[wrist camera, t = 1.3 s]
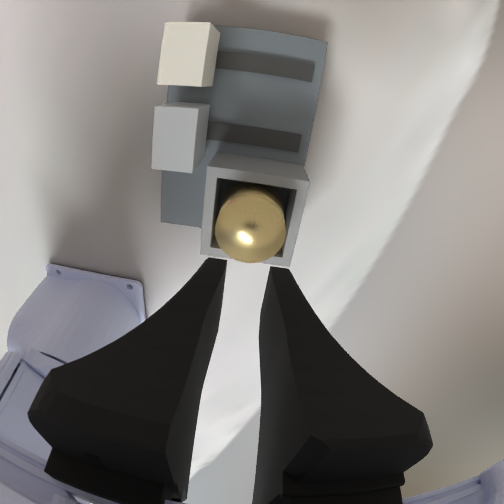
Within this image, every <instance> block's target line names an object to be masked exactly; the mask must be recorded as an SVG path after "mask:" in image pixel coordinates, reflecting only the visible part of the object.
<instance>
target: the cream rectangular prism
mask: <svg viewBox="0 0 504 504" xmlns="http://www.w3.org/2000/svg"><path fill="white" fill-rule="evenodd" d="M219 39H220V32H219V31H218V30H217V29H216V28H215V27H214V26H213V25H212V24H211V23H209V22H165V26H164V32H163V39H162V46H161V53H160V61H159V69H158V78H157V85H180V86H197V87H206V86H213V79H214V72H215V65H216V58H217V52H218V45H219Z"/></svg>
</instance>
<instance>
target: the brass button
mask: <svg viewBox="0 0 504 504" xmlns="http://www.w3.org/2000/svg"><path fill="white" fill-rule="evenodd" d="M285 236H286V227H285V219H284V212H283V204H282V199H281V196H280V194H279V193H278V191H277V190H276V189H275V188H274V187H273V186H272V185H265V184H259V183H252V182H245V181H239V182H237V183H236V184H234V185H233V186H232V187H231V188H230V189H229V190H228V191H227V193H226V195H225V197H224V200H223V203H222V206H221V209H220V212H219V215H218V218H217V221H216V225H215V237H216V240H217V242H218V245H219V246H220V248H221V249H222V250H223V251H224V252H225V253H226V254H227V255H228V256H230V257H231V258H233V259H235V260H238V261H241V262H246V263H256V262H261V261H264V260H267V259H269V258H271V257H272V256H274V255H275V254H276V253H277V252H278V251H279V250H280V249H281V247H282V245H283V243H284V240H285Z"/></svg>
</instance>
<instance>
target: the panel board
mask: <svg viewBox="0 0 504 504" xmlns="http://www.w3.org/2000/svg"><path fill="white" fill-rule="evenodd" d="M213 26H214V25H213ZM214 27H215V28H216V29H217V30H218V31H219V32H220V39H219V45H218V52H217V58H216V65H215V72H214V79H213V86H206V87H197V86H180V85H168V95H167V103H170V102H188V103H201V104H210V110H209V119H208V128H207V137H206V146H205V156H204V159H203V160H202V161H201V163H200V164H199V165H198V167H197V168H196V169H195V170H194V172H193V173H185V172H176V171H166V170H162V187H161V222H165V223H172V224H180V225H187V226H194V227H201V228H202V234H201V249H200V254H203V255H210V256H217V257H223V258H230V259H233V258H231V257H230V256H228V255H227V254H226V253H225V252H224V251H223V250H222V249H221V248H220V246H219V245H218V242H217V240H216V237H215V225H216V221H217V218H218V215H219V212H220V209H221V206H222V203H223V200H224V197H225V195H226V193H227V191H228V190H229V189H230V188H231V187H232V186H233V185H234V184H236V183H237V182H239V181H245V182H252V183H259V184H265V185H272V186H273V187H274V188H275V189H276V190H277V191H278V193H279V194H280V196H281V199H282V204H283V212H284V219H285V227H286V236H285V240H284V243H283V245H282V247H281V249H280V250H279V251H278V252H277V253H276V254H275V255H274V256H272V257H271V258H269V259H267V260H264V261H261V262H258V263H265V264H272V265H280V266H287V267H290V264H291V260H292V256H293V252H294V248H295V244H296V239H297V235H298V231H299V227H300V223H301V218H302V214H303V210H304V206H305V201H306V197H307V192H308V188H309V183H310V181H309V179H308V176H307V174H306V172H305V169H304V165H305V161H306V156H307V151H308V146H309V141H310V136H311V131H312V126H313V121H314V116H315V110H316V105H317V100H318V94H319V89H320V84H321V78H322V73H323V67H324V61H325V56H326V50H327V44H328V42H325V41H320V40H316V39H311V38H307V37H302V36H296V35H291V34H285V33H279V32H273V31H266V30H258V29H250V28H240V27H229V26H214Z"/></svg>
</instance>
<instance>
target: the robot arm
mask: <svg viewBox="0 0 504 504" xmlns="http://www.w3.org/2000/svg"><path fill="white" fill-rule="evenodd" d="M226 265H227V260H223V259H216V258H208V259H206V260H205V261H204V263H203V264H202V265H201V267H200V268H199V269H198V271H197V272H196V273H195V274H194V275H193V276H192V278H191V279H190V280H189V281H188V282H187V283H186V284H185V285H184V286H183V287H182V288H181V289H180V290H179V291H178V292H177V293H176V294H175V295H174V296H173V297H172V298H171V299H170V300H169V301H168V302H167V303H166V304H165V305H164V306H162V307H161V308H160V309H159V310H158V311H157V312H155V313H154V314H153V315H152V316H150V317H149V318H148V319H146V316H145V307H144V296H143V286H142V284H141V283H140V282H139V281H136V280H131V279H126V278H120V277H115V276H109V275H104V274H99V273H94V272H89V271H84V270H79V269H74V268H69V267H65V266H60V265H55V264H48V265H47V266H46V271H47V276H46V277H45V278H44V280H43V281H42V282H41V283H40V284H39V286H38V287H37V288H36V289H35V290H34V292H33V293H32V294H31V295H30V297H29V298H28V299H27V300H26V302H25V303H24V304H23V305H22V307H21V308H20V309H19V311H18V312H17V313H16V315H15V316H14V318H13V320H12V322H11V325H10V328H9V332H8V338H7V346H8V352H6V353H5V355H4V356H3V358H2V359H1V361H0V504H90V503H93V504H185V503H182V502H183V501H185V500H186V499H187V492H188V484H189V475H190V467H191V460H192V452H193V445H194V438H195V431H196V424H197V417H198V411H199V404H200V398H201V393H202V388H203V384H204V380H205V376H206V373H207V369H208V365H209V362H210V358H211V354H212V351H213V347H214V344H215V340H216V336H217V333H218V327H219V321H220V315H221V308H222V300H223V291H224V282H225V274H226ZM129 285H131V286H132V287H131V286H129ZM259 353H260V374H261V416H260V431H259V444H258V455H257V465H256V475H255V485H254V493H253V502H252V504H504V460H502V461H500V462H498V463H496V464H494V465H493V466H491V467H489V468H487V469H486V470H485V471H483V472H482V473H481V474H480V475H478V476H475V477H473V478H470V479H467V480H465V481H462V482H459V483H456V484H453V485H450V486H447V487H444V488H441V489H437V490H434V491H430V492H427V493H423V494H419V495H416V496H411V497H407V498H403V499H402V497H401V490H400V486H402V485H404V483H405V478H404V473H403V472H404V471H406V470H408V469H409V468H410V467H412V466H413V465H415V464H416V463H417V462H419V461H420V460H422V459H423V458H424V457H425V456H426V455H427V454H428V453H429V451H430V450H431V448H432V446H433V443H432V438H431V435H430V431H429V428H428V424H427V421H426V418H425V416H424V413H423V412H421V411H420V410H418V409H417V408H415V407H413V406H412V405H410V404H409V403H407V402H405V401H404V400H403V399H401V398H400V397H398V396H396V395H395V394H394V393H392V392H391V391H390V390H388V389H387V388H386V387H385V386H383V385H382V384H381V383H379V382H378V381H377V380H376V379H374V378H373V377H372V376H371V375H370V374H369V373H367V372H366V371H365V370H364V369H363V368H362V367H361V366H360V365H359V364H358V363H357V362H356V361H355V360H354V359H353V358H352V357H351V356H350V355H349V354H347V352H346V351H345V350H344V349H343V348H342V347H341V346H340V345H339V343H338V342H337V341H336V340H335V339H334V338H333V337H332V336H331V334H330V333H329V332H328V330H327V329H326V328H325V326H324V325H323V324H322V322H321V321H320V319H319V318H318V317H317V315H316V314H315V312H314V311H313V309H312V307H311V306H310V304H309V303H308V301H307V300H306V298H305V296H304V295H303V293H302V291H301V290H300V288H299V286H298V284H297V283H296V281H295V279H294V277H293V275H292V273H291V272H290V270H289V269H286V268H279V267H272V266H270V271H269V275H268V280H267V285H266V289H265V294H264V299H263V303H262V308H261V314H260V327H259Z"/></svg>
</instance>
